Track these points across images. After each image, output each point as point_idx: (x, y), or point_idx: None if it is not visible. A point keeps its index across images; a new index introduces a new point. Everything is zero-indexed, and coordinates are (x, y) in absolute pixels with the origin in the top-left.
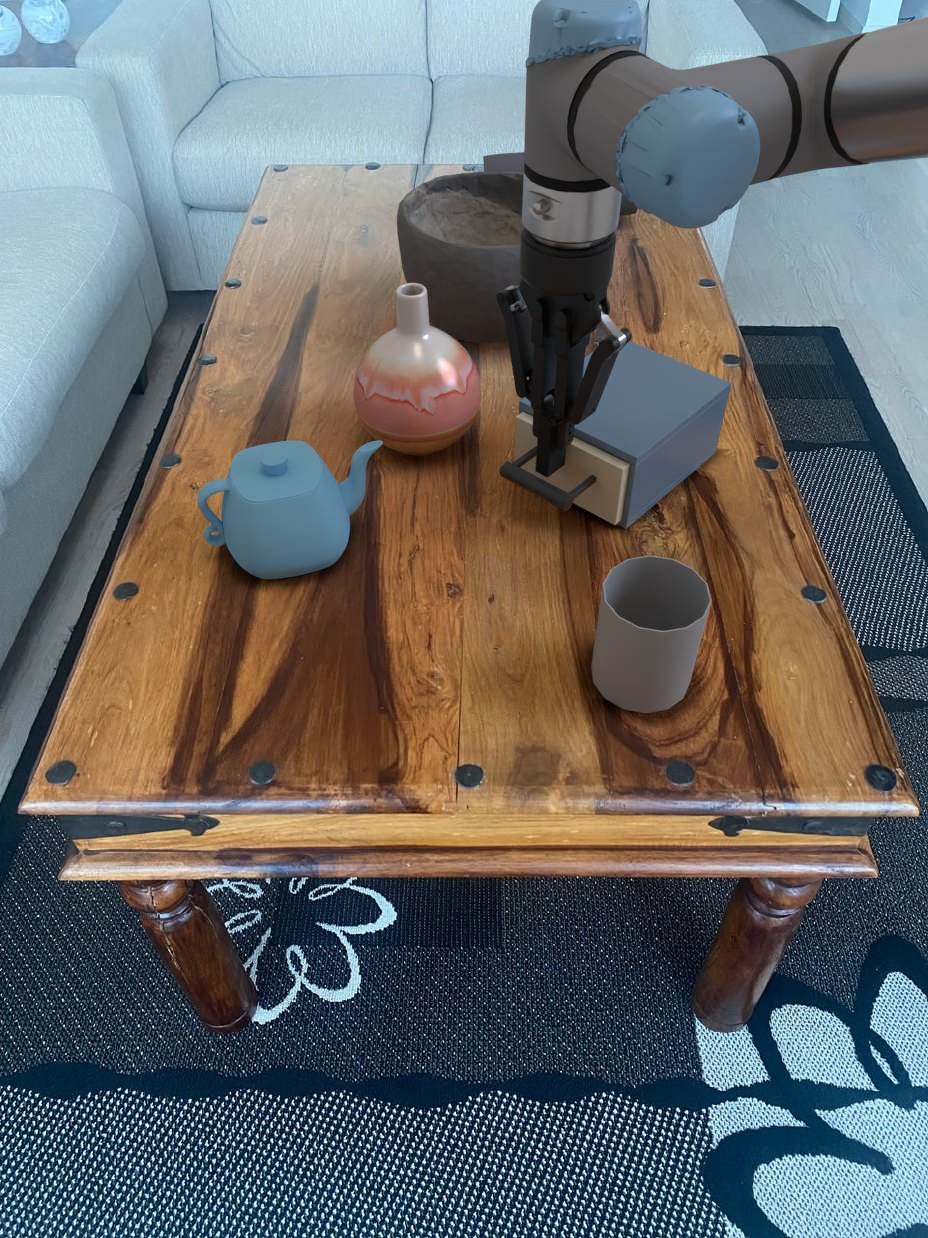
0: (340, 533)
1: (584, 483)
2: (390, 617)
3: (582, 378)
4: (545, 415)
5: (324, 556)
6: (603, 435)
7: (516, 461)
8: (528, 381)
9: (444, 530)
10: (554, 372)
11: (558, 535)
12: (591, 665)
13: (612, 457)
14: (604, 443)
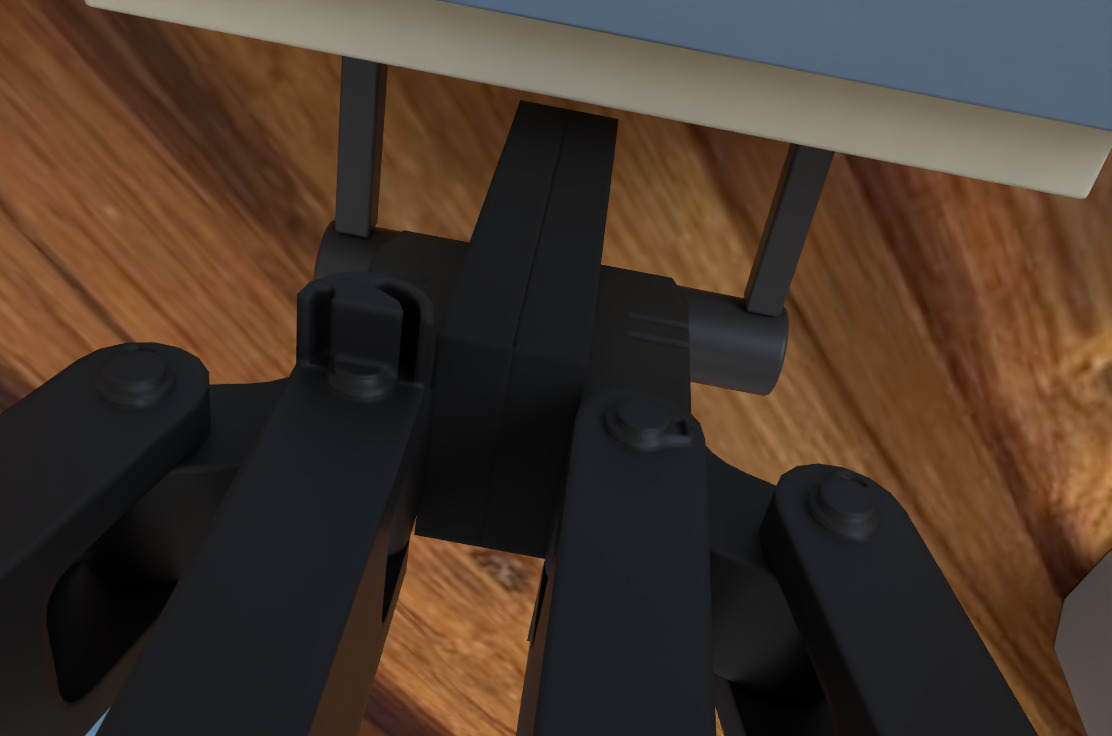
0: (101, 719)
1: (802, 200)
2: (421, 697)
3: (714, 719)
4: (462, 522)
5: None
6: (853, 3)
7: (347, 207)
8: (113, 532)
9: (286, 362)
10: (335, 703)
11: (704, 178)
12: (1055, 650)
13: (972, 107)
14: (892, 88)
